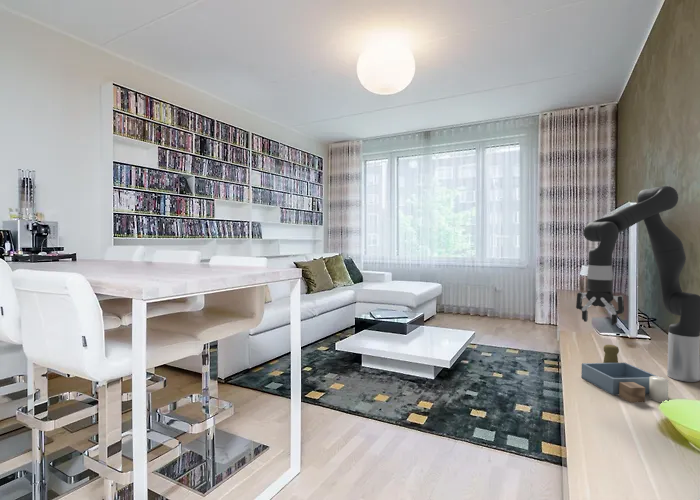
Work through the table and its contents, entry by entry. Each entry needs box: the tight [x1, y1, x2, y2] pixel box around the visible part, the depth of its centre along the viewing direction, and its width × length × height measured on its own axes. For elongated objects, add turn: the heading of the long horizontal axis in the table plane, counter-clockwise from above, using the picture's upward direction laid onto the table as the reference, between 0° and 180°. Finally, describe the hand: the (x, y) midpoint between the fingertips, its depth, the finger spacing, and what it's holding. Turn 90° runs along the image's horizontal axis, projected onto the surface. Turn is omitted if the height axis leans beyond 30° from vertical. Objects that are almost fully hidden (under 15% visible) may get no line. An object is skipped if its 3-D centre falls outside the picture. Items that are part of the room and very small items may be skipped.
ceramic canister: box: [648, 375, 669, 403], centre depth 131 cm, size 5×5×7 cm
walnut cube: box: [618, 382, 646, 404], centre depth 131 cm, size 5×5×5 cm
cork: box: [602, 344, 620, 363], centre depth 157 cm, size 6×6×11 cm
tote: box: [581, 362, 657, 396], centre depth 143 cm, size 18×17×6 cm
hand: (599, 323), depth 139 cm, fingers open, 8 cm apart
